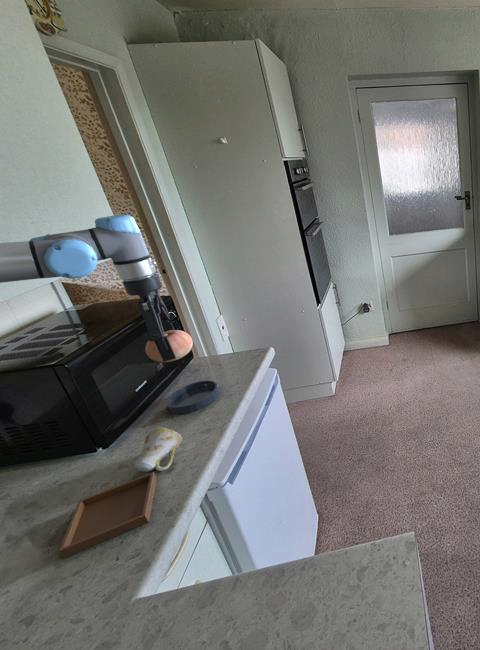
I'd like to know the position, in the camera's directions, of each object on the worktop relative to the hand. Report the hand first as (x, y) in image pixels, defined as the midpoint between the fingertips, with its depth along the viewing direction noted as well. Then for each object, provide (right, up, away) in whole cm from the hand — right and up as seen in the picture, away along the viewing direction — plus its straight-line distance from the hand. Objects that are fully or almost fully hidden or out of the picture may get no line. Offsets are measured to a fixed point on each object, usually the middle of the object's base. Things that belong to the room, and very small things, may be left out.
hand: (171, 350), depth 107 cm
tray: (+9, -31, -28) cm, 43 cm away
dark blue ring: (+2, -16, +7) cm, 17 cm away
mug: (+8, -25, -14) cm, 30 cm away
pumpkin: (0, -2, +1) cm, 2 cm away
